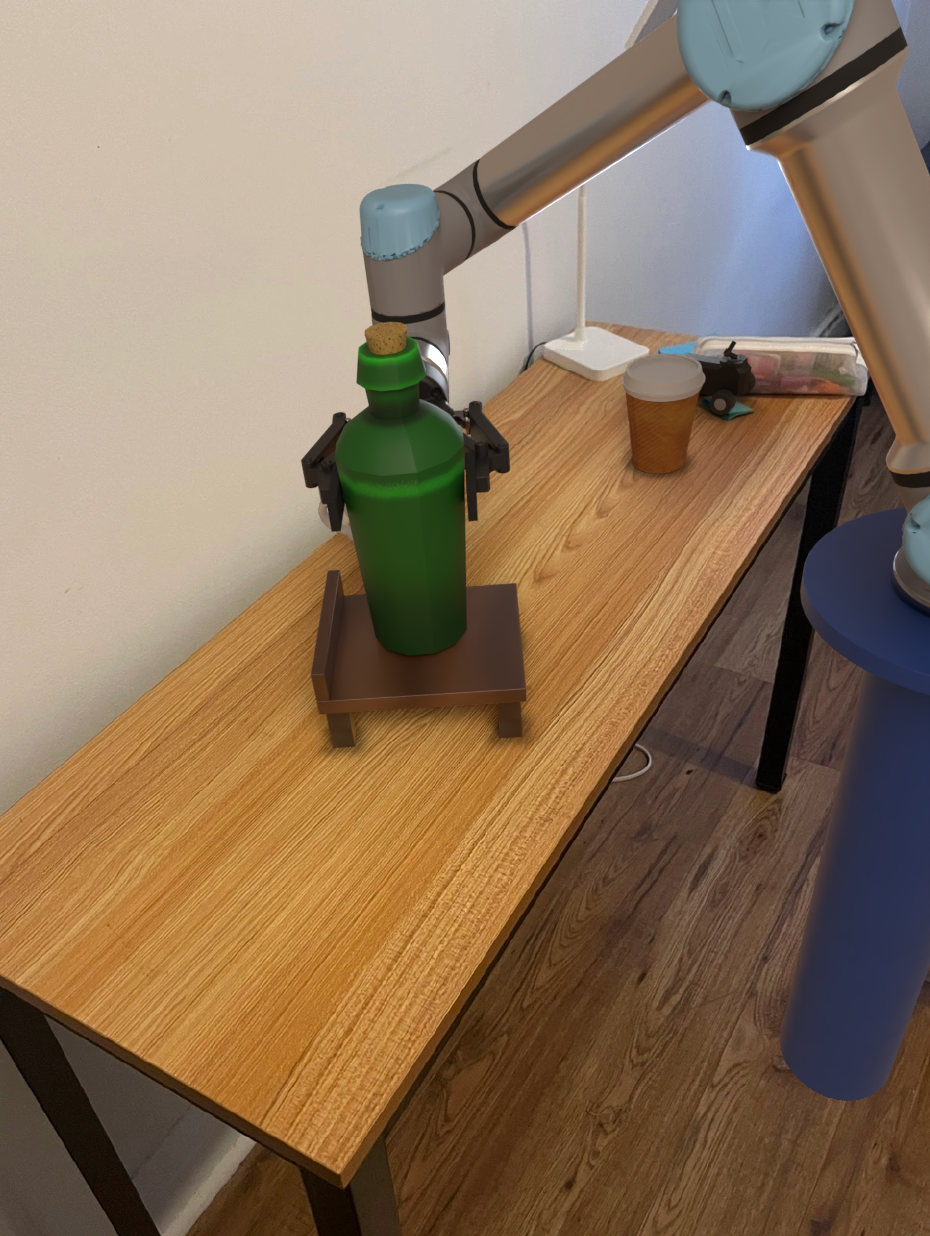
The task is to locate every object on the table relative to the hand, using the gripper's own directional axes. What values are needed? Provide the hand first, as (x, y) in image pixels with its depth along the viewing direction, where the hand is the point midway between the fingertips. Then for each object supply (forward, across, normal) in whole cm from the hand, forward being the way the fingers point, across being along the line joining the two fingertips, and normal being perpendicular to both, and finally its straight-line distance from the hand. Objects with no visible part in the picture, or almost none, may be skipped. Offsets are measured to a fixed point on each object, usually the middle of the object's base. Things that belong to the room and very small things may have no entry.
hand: (402, 511), depth 81 cm
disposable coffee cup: (-44, -28, -21) cm, 57 cm away
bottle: (-4, 0, -15) cm, 16 cm away
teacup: (-28, +5, -21) cm, 36 cm away
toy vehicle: (-61, -35, -21) cm, 74 cm away
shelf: (-3, 0, -21) cm, 21 cm away
